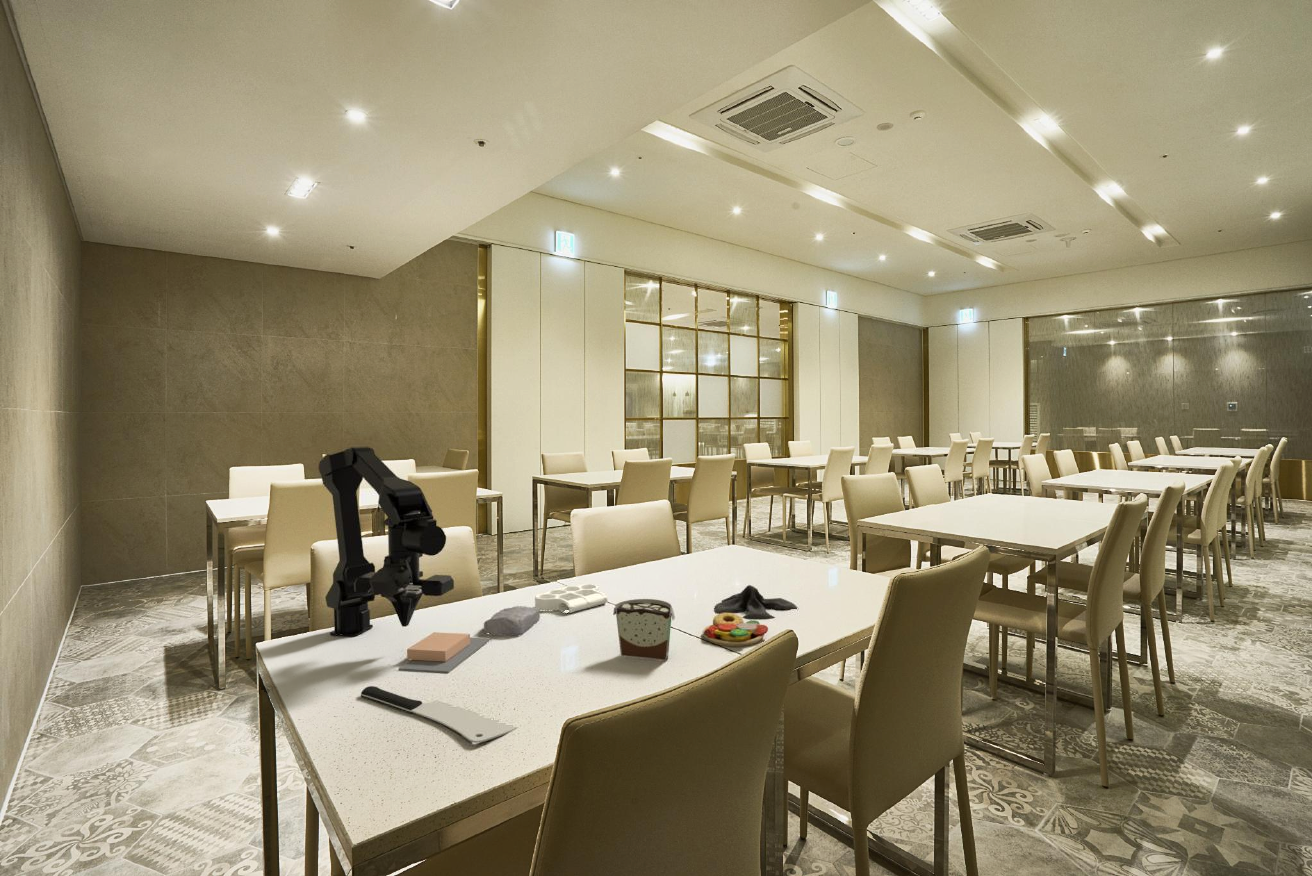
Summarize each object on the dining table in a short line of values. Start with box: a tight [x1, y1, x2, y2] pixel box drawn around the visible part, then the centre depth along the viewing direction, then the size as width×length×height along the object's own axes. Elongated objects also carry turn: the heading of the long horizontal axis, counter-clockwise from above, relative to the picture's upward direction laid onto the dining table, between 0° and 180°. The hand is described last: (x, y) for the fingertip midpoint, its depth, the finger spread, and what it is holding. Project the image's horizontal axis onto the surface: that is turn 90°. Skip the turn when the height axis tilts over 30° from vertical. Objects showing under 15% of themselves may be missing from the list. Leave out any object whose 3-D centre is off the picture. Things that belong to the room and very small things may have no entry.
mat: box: [398, 636, 492, 674], centre depth 127 cm, size 10×18×1 cm, turn 169°
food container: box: [612, 598, 676, 662], centre depth 126 cm, size 12×6×10 cm, turn 71°
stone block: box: [483, 605, 541, 636], centre depth 144 cm, size 12×5×10 cm
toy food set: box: [702, 613, 769, 647], centre depth 135 cm, size 13×13×3 cm
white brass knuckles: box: [534, 583, 608, 615], centre depth 161 cm, size 3×18×15 cm
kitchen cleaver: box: [360, 685, 518, 744], centre depth 102 cm, size 31×2×10 cm
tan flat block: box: [406, 631, 471, 662], centre depth 128 cm, size 2×10×8 cm
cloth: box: [714, 584, 798, 620], centre depth 156 cm, size 22×19×6 cm
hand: (405, 626), depth 129 cm, fingers closed
